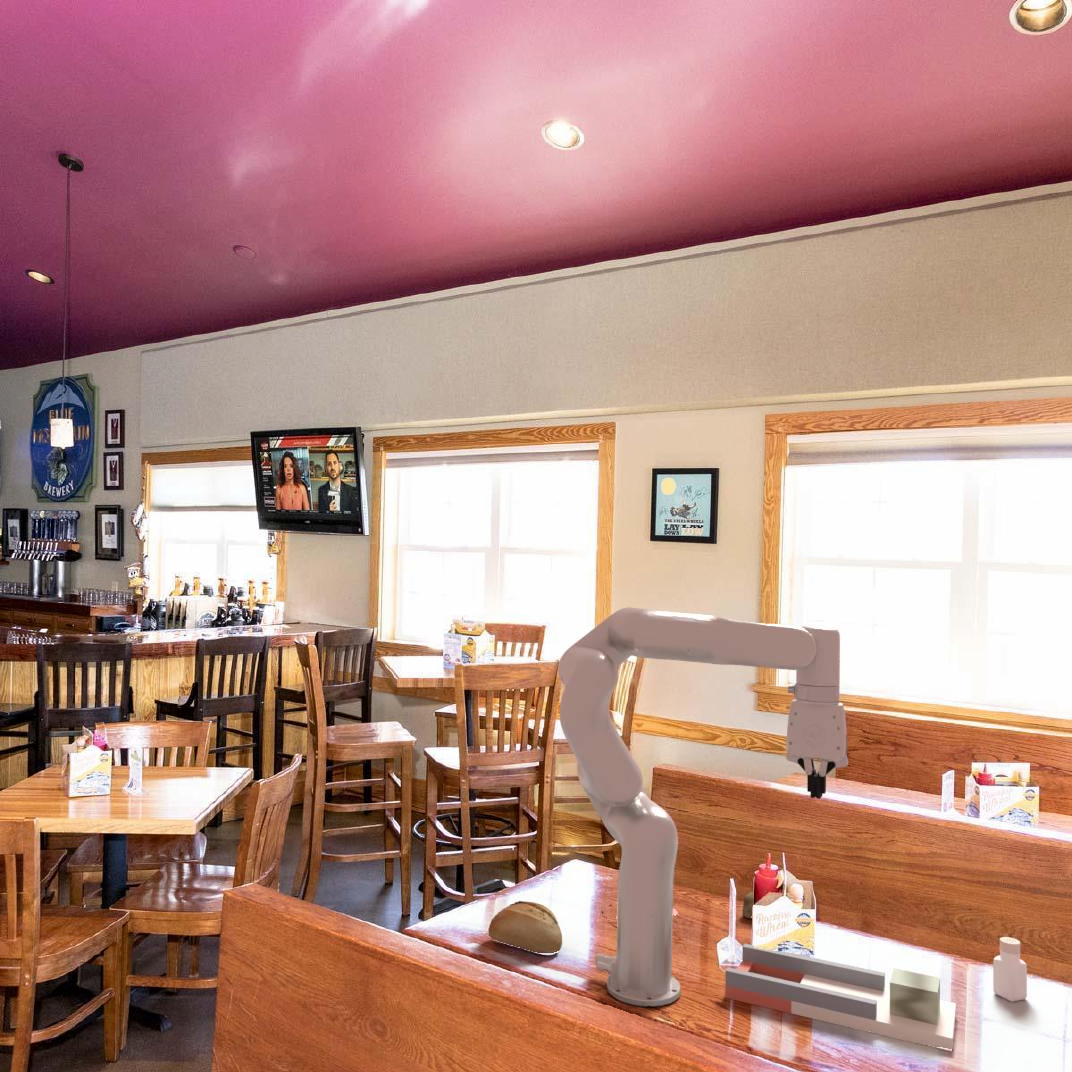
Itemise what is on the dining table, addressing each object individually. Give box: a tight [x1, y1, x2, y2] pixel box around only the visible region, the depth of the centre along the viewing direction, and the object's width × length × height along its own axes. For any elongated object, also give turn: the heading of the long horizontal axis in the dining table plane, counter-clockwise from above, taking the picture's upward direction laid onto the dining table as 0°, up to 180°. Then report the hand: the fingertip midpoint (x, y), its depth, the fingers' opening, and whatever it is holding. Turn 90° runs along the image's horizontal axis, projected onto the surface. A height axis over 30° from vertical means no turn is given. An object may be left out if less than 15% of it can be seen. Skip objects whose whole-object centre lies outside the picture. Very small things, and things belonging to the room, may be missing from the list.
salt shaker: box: [992, 936, 1028, 1002], centre depth 156 cm, size 4×4×10 cm
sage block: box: [889, 967, 941, 1025], centre depth 145 cm, size 7×6×5 cm
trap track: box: [724, 943, 957, 1050], centre depth 150 cm, size 35×13×4 cm, turn 63°
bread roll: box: [487, 900, 563, 953], centre depth 172 cm, size 10×15×8 cm, turn 66°
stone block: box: [742, 890, 755, 920], centre depth 188 cm, size 6×12×5 cm, turn 52°
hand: (816, 796), depth 162 cm, fingers closed
